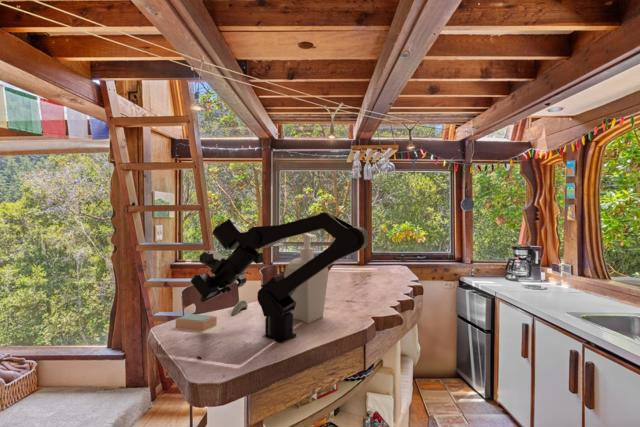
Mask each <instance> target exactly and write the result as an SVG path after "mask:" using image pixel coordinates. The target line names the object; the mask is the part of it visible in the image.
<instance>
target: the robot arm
mask: <svg viewBox="0 0 640 427" xmlns="http://www.w3.org/2000/svg"><path fill="white" fill-rule="evenodd" d="M321 230H323V231H325V232H327V233H328V234H329V235H330V236H331V237H332V238H333V239H334V240H333V241H332V242H331V244H330V245H329V246H328V247H327V248H325V249H324V250H323V251H322V252H320V253H319V254H317V255H315V256H314V258H313V259H311V260H310V261H308V262H307V263H306V264H304V265H303V266H301V267H300V268H298V269H297V270H296V271H294V272H293V273H291V274H290V275H288V276H287V277H285V278H284V273H281V274H278V275H274V276H273V277H271V278H270V279H269V280H268V281H266V283H263V284H261V285H260V287H261V288H260V289H259V290H258V291H257V296H256V297H257V302H258V304H259V305H260V308H261V311H262V314H263V317H265V320H264V322H265V325H264V326H265V334H264V335H262V338H265V339H270V340H273V341H274V342H277V343H284V342H286V341H288V340H291V339H294V338H296V337H297V333H294V319H293V313H291V311H293V310H294V309H295V306H296V302H295V301H294V300H293V298H292V297H291V295H292V294H293V292H294V291H295V290H296V289H297V288H298V287H299V286H301V285H302V284H303V283H305V282H306V281H308V280H309V279H311V278H312V277H314V276H315V275H317V274H318V273H320V272H321V271H323V270H324V269H326V268H329V267H330V266H331V265H334V263H336V262H337V261H339V260H341V259H342V258H344V257H347V256H350V255H352V254H354V253H357V252H359V251H361V250H363V249H365V248H366V247H367V246H368V245H369V242H370V235H369V233H368V232H369V231H367V230H366V229H365V228H363V227H361V226H354V225H352V224H350V223H348V222H347V221H345V220H343V219H341V218H339V217H338V216H335V215H334V213H332V212H325V211H324V212H320V213H319V214H316V215H312V216H308V217H305V218H301V219H297V220H293V221H288V222H285V223H281V224H278V225H277V224H276V225H260V226H252V227H250V228H249V229H248V230H247V231H243V230H242V228H241V227H240V226H239V225H238V224H237V223H236V221H235V219H234V218H227V219H226V220H225V221H224V222H221V223H220V224H219V225H217V226H215V228H214V229H213V230H212V233H211V234H212V235H213V237H214V238H215V239H216V240H217V241H218V243H219V244H220V246H222V247H223V249H224V250H225V251H226V250H227V251H228V250H230V251H232V252H231V253H230V254H229V255H228V256H227V257H226V256H225V255H222V254H221V253H219V252H218V251H216V250H213V249H211V250H204V252H203V251H202V253H201V254H200V255H199V256H198V257H199V263H200V264H202V265H204V266H207V267H208V268H210V272H211V274H212V276H211V275H210V274H209V273H205V272H203V273H198V274H194V276H193V277H192V278H191V280H190V283H191V284H192V285H193V287H194V288H195V289H196V291H197V292H198V293H199V294H200V295H201V298H200V302H201V303H206V302H208V301H211V300H212V299H215V298H217V297H219V296H222V295H224V294H227V293H228V292H230V291H231V290H232V289H231V286H234V285H236V288H237V289H238V288H242V287H243V286H244V285H245V284H246V283H247V277H246V276H245V274H246V273H247V271H246V270H247V269H248V267H249V266H250V265H251V264H252V263H253V262H254V263H255V265H257V264H262V263H264V262H265V260H264V253H263V252H259V251H258V250H260V249H266V248H269V247H272V246H274V245H277V244H278V243H280V242H282V241H284V240H286V239H289V238H290V237H293V236H296V237H298V236H297V235H299V236H302V235H301V234H305V233H309V234H310V233H312V232H316V231H321Z"/></svg>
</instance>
